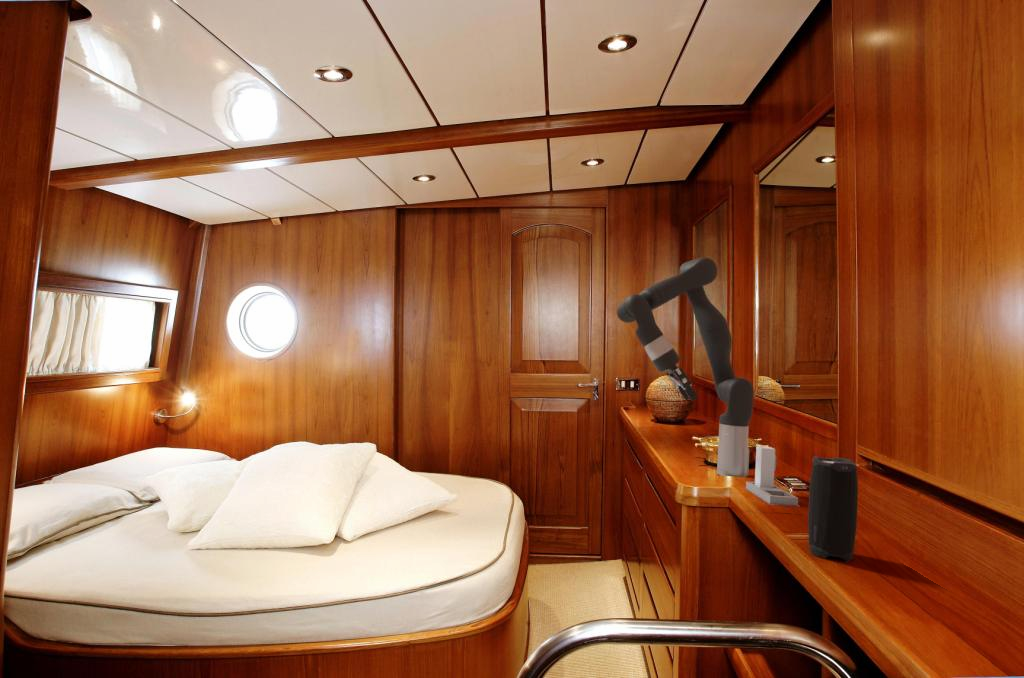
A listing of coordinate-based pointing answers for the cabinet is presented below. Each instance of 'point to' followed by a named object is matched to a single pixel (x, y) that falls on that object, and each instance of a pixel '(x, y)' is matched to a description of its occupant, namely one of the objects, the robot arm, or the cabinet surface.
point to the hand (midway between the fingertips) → (691, 398)
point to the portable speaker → (833, 507)
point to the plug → (765, 466)
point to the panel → (773, 495)
